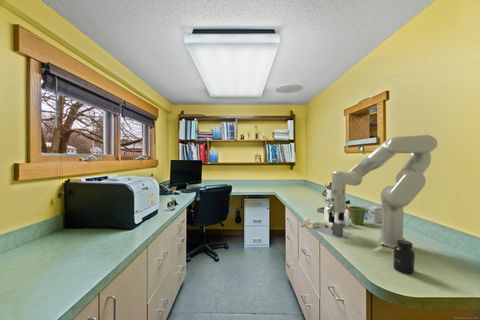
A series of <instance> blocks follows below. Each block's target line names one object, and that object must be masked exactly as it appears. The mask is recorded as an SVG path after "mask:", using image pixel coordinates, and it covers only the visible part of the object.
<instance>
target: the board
mask: <svg viewBox="0 0 480 320" xmlns="http://www.w3.org/2000/svg"><path fill="white" fill-rule="evenodd" d="M300 227H301V228H304V227H305V228H307V229H311V230H313V231H316V232H319V233H322V234H324V235H328V236H331V237H333V238H336V239H338V240H341V239H343V238H346V237H349V236H352V235H353V233H351V232H347V231H344V230H343V236H340V237H338V236H335V235H332V232H333V224H328V222H326V221H319V220H317V221H312V222H311V219H310V218H305V219H302V225H300Z"/></svg>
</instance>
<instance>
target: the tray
mask: <svg viewBox="0 0 480 320" xmlns="http://www.w3.org/2000/svg"><path fill="white" fill-rule="evenodd" d="M325 207H329V205H327V206H322V207H318V208H317V213H321V214H324V208H325ZM349 219H351V216H349Z"/></svg>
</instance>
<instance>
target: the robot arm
mask: <svg viewBox="0 0 480 320" xmlns="http://www.w3.org/2000/svg"><path fill="white" fill-rule="evenodd" d="M437 147H438V140H437V139H436V138H435V137H434V136H432V135H429V134H428V135H427V134H424V135H423V134H421V135H407V136H394V137H390V138H388V139H386V140H385V141H383V143H381V144H380V145H379V146H378V147H376V148H375V149H374V150H373V151H372V152H371V153H369V154H368V155H367V156H365V157H364V158H363V159H362V160H361V161H359V162H358V163H357V164H356V165H355V166H353V167H352V168H351V169H350V170H349V171H347V172H345V171H341V170H340V171H338V170H334V171H332V173H331V174H332V175H331V188H330V199H329V204H328V206H329V207H328V208H327V210H328V215H329V222H331V223H334V218H335V216H334V214H335V212H336V213H339V214H338V220H341V221H344V214H345V211H346V205H347V199H346V197H347V196H346V185H349V186H355V187H356V186H359V185H361V184H362V182H363V178H364V177H365V176H366V175H368V173H370V172H372V171H374V170H377V169H379V168H381V167H382V166H384V165H385V164H386V163H387V162H388V161H390V160H391V159H393V157H394V156H396V155H397V154H410V156H409V158H408V160H407V162H406V163H405V164H404V165H403V167H402V168H401V170H399V172H398V173H397V174H396V176H395V182H396V184H395V185H387V186H385V187H384V188H383V189H382V190H381V192H380V200H381V201H380V202H381V208H382V212H381V222H380V223H381V224H380V225H381V227H380V232H381V233H380V234H381V235H380V237H379V238H377V242H379V243H381V246H383V247H387V248H389V249H390V248H391V249H394V247H395V246H398V245H397V241H398V240H406V238H405V237H404V207H407V206H408V205H409V204H411V203H412V202H413V200H414V199H415V198H416V197H417V196H418V195H419V194H420V192H421V191H422V190H423V188H424V187H425V185H426V181H427V180H426V176H425V175H424V173H425V172H426V171H427V169H428V168H429V167H430V165H431V163H432V155H431V152H432V151H434V150H435V149H437ZM332 212H333V214H332ZM412 248H413V243H412Z"/></svg>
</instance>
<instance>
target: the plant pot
mask: <svg viewBox="0 0 480 320" xmlns="http://www.w3.org/2000/svg"><path fill="white" fill-rule="evenodd" d="M348 208H349V211H350V216H351V217H350V221H351V223H352V224H354V225H357V226H360V225H364V221H365V220H364V217H365V213H366V210H367V208H364V207H363V206H358V205H348Z"/></svg>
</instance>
